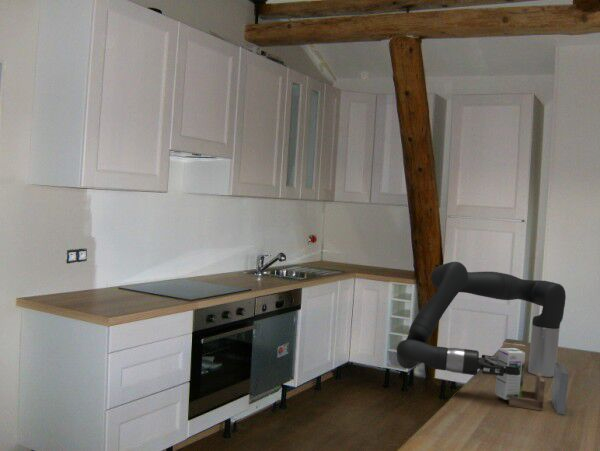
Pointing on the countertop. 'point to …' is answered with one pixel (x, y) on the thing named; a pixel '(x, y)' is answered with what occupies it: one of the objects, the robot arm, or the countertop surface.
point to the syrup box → (509, 383)
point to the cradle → (531, 396)
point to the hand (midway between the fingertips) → (517, 368)
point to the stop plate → (559, 388)
